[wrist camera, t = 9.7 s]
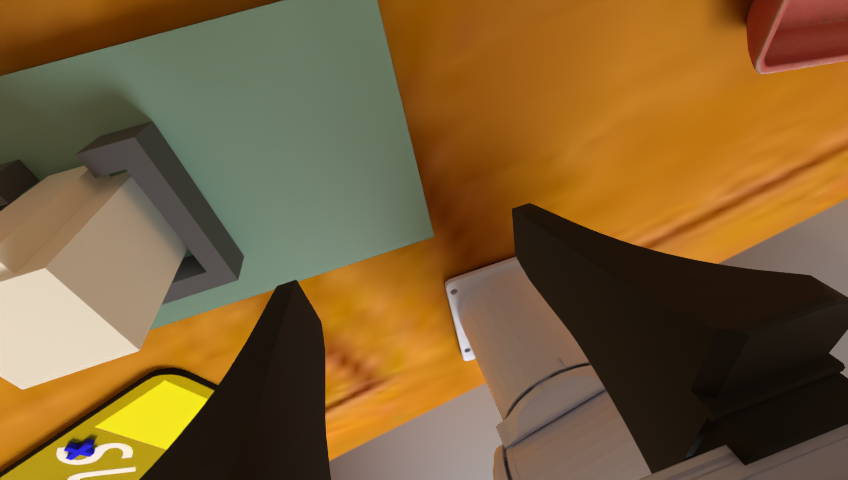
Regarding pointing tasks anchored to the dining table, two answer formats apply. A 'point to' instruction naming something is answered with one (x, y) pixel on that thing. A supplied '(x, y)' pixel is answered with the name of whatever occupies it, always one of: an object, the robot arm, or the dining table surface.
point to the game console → (120, 432)
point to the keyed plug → (80, 274)
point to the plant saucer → (796, 34)
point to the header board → (235, 142)
